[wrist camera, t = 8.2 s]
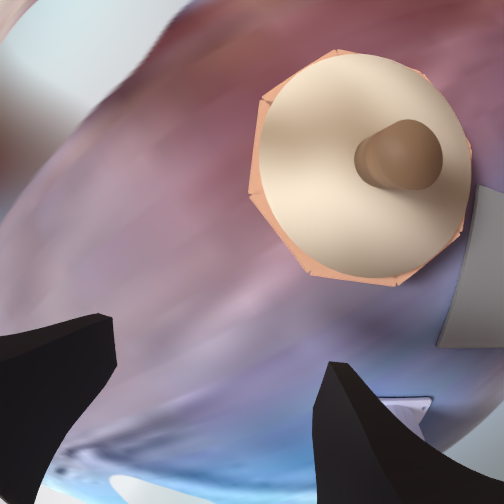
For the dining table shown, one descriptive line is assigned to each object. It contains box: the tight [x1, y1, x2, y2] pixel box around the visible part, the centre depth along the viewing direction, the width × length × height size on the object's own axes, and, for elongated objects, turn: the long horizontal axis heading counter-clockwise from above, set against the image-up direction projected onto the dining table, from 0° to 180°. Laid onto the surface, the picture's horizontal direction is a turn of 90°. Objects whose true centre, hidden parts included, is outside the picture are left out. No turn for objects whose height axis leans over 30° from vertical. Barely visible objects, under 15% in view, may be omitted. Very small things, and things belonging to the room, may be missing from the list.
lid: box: [259, 54, 471, 278], centre depth 10 cm, size 11×11×5 cm
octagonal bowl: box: [248, 49, 472, 287], centre depth 14 cm, size 12×12×4 cm
